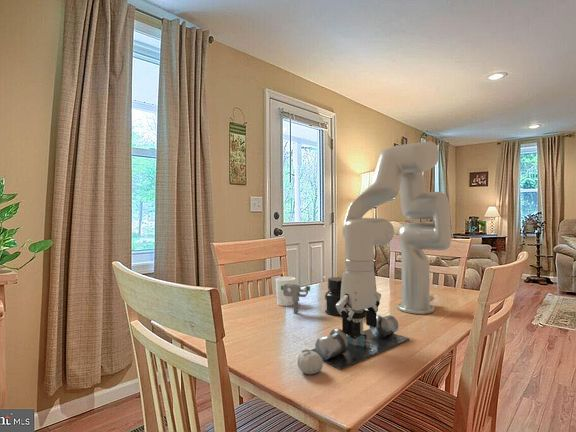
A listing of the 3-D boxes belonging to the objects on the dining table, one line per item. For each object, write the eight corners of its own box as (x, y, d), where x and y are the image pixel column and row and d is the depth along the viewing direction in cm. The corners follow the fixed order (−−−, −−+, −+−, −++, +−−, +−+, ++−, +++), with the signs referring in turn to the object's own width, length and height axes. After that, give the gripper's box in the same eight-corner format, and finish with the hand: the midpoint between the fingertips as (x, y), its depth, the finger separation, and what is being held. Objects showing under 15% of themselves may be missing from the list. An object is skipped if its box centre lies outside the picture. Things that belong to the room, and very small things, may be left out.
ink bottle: (336, 307, 129) (335, 275, 129) (355, 312, 123) (355, 278, 123) (319, 312, 123) (319, 279, 122) (339, 318, 116) (339, 282, 116)
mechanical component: (309, 315, 120) (309, 286, 120) (280, 313, 122) (280, 285, 122) (310, 312, 123) (310, 284, 123) (282, 311, 125) (282, 283, 125)
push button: (374, 343, 93) (374, 306, 93) (367, 350, 88) (367, 311, 88) (351, 339, 96) (351, 303, 96) (343, 345, 92) (343, 307, 92)
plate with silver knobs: (374, 328, 106) (374, 307, 105) (409, 340, 96) (409, 317, 96) (306, 353, 88) (305, 328, 88) (340, 370, 79) (340, 342, 79)
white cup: (272, 305, 133) (272, 279, 133) (280, 300, 140) (280, 275, 140) (291, 307, 130) (291, 281, 130) (298, 302, 137) (298, 277, 137)
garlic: (293, 375, 77) (292, 352, 77) (301, 365, 82) (300, 343, 82) (319, 380, 74) (319, 356, 74) (325, 369, 80) (325, 346, 79)
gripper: (368, 261, 100) (369, 319, 100) (326, 268, 89) (326, 333, 90) (390, 264, 94) (391, 326, 95) (348, 271, 83) (348, 342, 84)
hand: (359, 329), depth 92 cm, fingers open, 9 cm apart
